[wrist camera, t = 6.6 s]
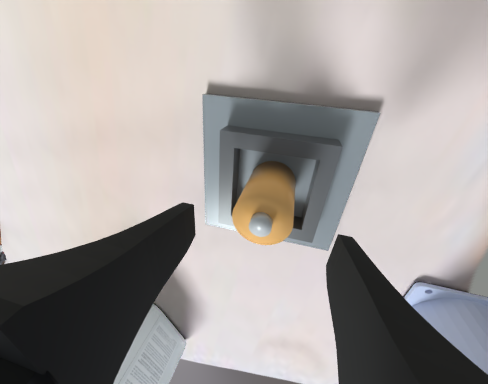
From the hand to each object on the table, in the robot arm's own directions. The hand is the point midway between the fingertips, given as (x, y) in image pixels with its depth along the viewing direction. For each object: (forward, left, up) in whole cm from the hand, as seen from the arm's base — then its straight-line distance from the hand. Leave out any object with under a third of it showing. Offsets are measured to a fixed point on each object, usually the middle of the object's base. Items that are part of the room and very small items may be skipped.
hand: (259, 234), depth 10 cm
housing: (0, 0, -7) cm, 7 cm away
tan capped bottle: (0, 0, -6) cm, 6 cm away
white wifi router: (+13, +27, -7) cm, 31 cm away
